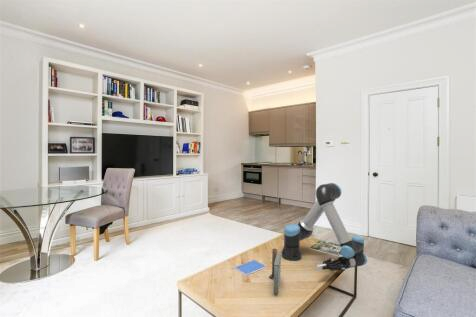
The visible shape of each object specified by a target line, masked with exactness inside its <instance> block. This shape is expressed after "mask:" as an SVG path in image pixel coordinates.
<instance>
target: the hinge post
mask: <svg viewBox="0 0 476 317" xmlns="http://www.w3.org/2000/svg"><path fill="white" fill-rule="evenodd" d="M277 253H278V249H277V248H272V253H271V254H272V258H271V259H272V260H271V274H270V275H269V276H268V278H269V279H272V280H274V262H275V258H276V254H277Z"/></svg>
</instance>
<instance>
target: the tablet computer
mask: <svg viewBox="0 0 476 317" xmlns="http://www.w3.org/2000/svg"><path fill="white" fill-rule="evenodd" d="M265 268H267V265H264V264H262V263H261V262H259V261H257V260H255V259H253V260H250V261H248V262H245V263H243V264H240V265H237V266H234V269H235V270H236V271H238V272H239V273H241V274H243V275H244V276H248V275H251V274H253V273H255V272H257V271H261V270H263V269H265Z"/></svg>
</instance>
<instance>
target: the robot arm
mask: <svg viewBox="0 0 476 317" xmlns="http://www.w3.org/2000/svg"><path fill="white" fill-rule="evenodd" d="M341 196H342V189H341V187H340V185H338V184H337V183H332V182H330V183H324V184H323V183H322V184H320V185H319V186H317V188H316V190H315V197H316V201H315V202H314V204H313V205H312V206H311V208H310V209H309V211H308V212H307V213H306V215H305V216H304V218H303V219H300V221H299V222H298V223H297V224H295V223H291V224H287V225H285V226H284V230H283V234H284V235H283V236H284V237H283V248H282V250H281V258H283V259H284V260H287V261H294V262H295V261H300V260H301V259H302V257H303V254H302V251H301V249H300V244H301V243H300V242H301V241H303V240H305V239H308V238H310V237H311V236H312V235H313V230H314V225H315V224H316V223H317V221H318V220H319V219H320V217H321V216H322V215H323V213H324V214H325V216H326V218H327V221H328V223H329V225H330V227H331V228H332V232H333V233H334V234H335V237H336V239H337V241H338V243H339V246H340V249H339V250H340V252H339V253H340V255H341V256H339V257H338V258H336V259H332V257H330V258H329V259H326V260H324V261H322V263H321V264H317V265H316V268H315V269H316V271H325V270H329V271H330V272H331V271H332V272H334V271H336V272H337V271H346V270H347V269H353V268H357V267H362V266H365V265H366V264H367V263H368V258H367V256H366V254H364V252H365V251H364V250H365V239H364V238H363V237H362V236H359V235H352V236H351V237H350V236H349V233H348V231H347V229H346V227H345V225H344V223H343V220H342V219H341V217H340V215H339V213H338V210H337V209H336V207H335V205H334V202H335V201H336V199H339V198H340V197H341Z"/></svg>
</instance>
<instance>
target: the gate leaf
mask: <svg viewBox="0 0 476 317" xmlns="http://www.w3.org/2000/svg"><path fill="white" fill-rule="evenodd" d="M281 258H282V252H277V254H276V258H275V262H274V279H273V293H274V294H278V293H279V286H280V282H281V268H282V267H281V265H282V264H281V261H282V260H281Z"/></svg>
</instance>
